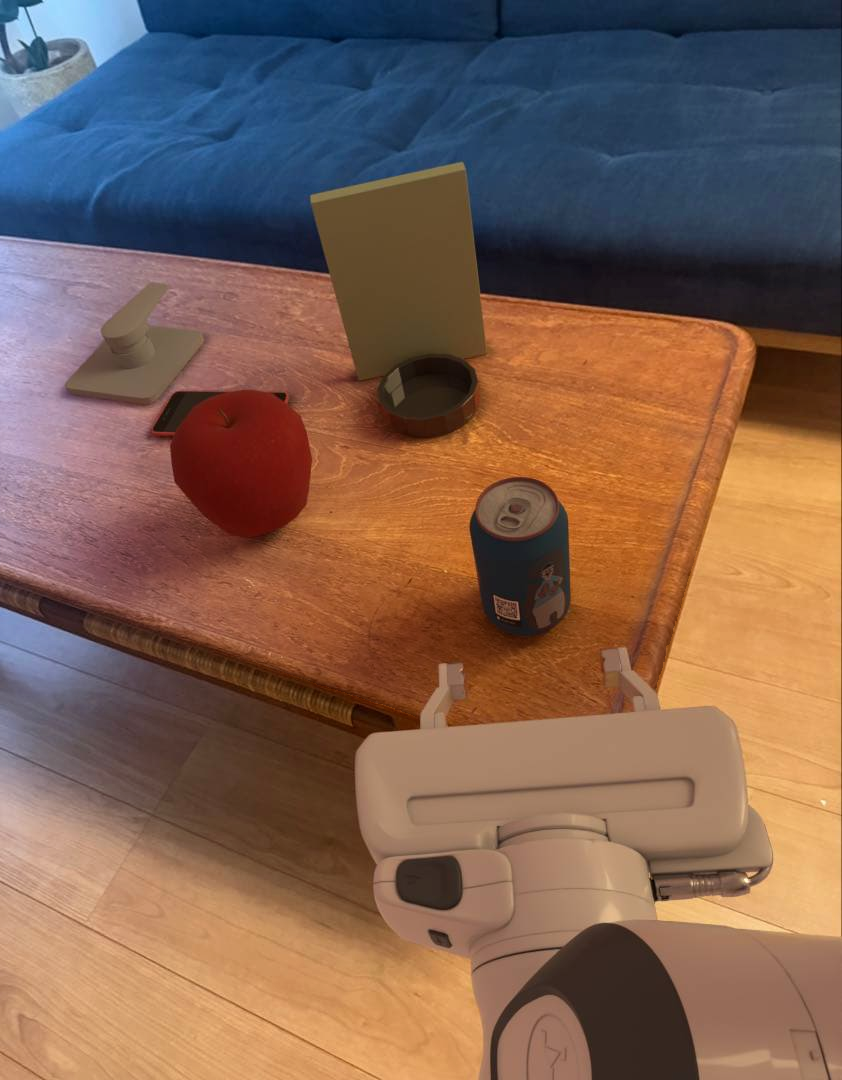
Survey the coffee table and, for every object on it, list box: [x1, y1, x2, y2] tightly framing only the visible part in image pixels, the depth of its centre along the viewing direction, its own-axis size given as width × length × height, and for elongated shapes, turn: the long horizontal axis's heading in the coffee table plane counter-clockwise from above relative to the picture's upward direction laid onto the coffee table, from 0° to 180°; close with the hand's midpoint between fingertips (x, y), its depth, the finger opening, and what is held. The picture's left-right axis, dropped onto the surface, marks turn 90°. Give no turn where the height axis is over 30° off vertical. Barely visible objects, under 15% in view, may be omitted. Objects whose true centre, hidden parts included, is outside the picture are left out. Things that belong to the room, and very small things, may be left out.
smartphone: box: [150, 390, 290, 437], centre depth 87 cm, size 7×1×14 cm
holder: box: [376, 354, 481, 439], centre depth 82 cm, size 10×10×2 cm
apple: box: [169, 389, 313, 538], centre depth 71 cm, size 12×12×13 cm
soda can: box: [469, 476, 572, 638], centre depth 61 cm, size 7×7×12 cm
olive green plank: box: [309, 161, 488, 382], centre depth 80 cm, size 14×2×20 cm, turn 98°
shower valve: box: [64, 282, 205, 405], centre depth 95 cm, size 12×6×15 cm
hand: (531, 660), depth 48 cm, fingers open, 8 cm apart
